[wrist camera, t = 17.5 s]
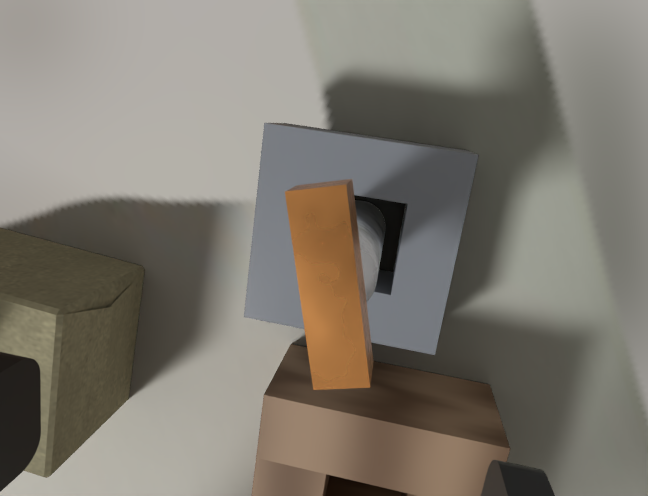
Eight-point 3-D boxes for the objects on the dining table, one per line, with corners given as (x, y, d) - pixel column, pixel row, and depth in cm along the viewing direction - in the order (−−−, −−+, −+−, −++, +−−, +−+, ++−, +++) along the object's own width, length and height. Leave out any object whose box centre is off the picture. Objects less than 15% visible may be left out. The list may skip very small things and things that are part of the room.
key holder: (264, 292, 30) (243, 316, 26) (284, 123, 27) (264, 122, 24) (431, 324, 29) (434, 355, 25) (468, 150, 26) (478, 155, 22)
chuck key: (325, 167, 28) (269, 193, 16) (379, 161, 27) (361, 182, 16) (340, 287, 29) (299, 390, 18) (391, 283, 29) (384, 387, 17)
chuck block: (269, 504, 34) (240, 583, 28) (290, 344, 31) (263, 394, 25) (447, 548, 32) (456, 640, 26) (489, 384, 29) (510, 448, 23)
